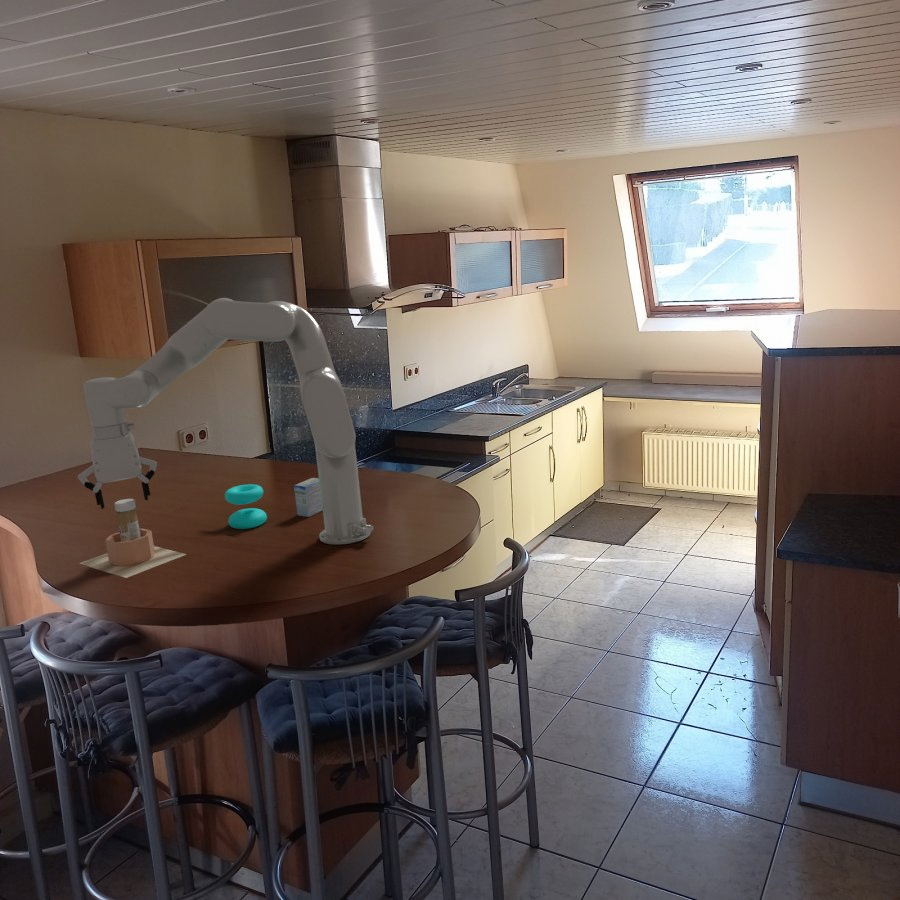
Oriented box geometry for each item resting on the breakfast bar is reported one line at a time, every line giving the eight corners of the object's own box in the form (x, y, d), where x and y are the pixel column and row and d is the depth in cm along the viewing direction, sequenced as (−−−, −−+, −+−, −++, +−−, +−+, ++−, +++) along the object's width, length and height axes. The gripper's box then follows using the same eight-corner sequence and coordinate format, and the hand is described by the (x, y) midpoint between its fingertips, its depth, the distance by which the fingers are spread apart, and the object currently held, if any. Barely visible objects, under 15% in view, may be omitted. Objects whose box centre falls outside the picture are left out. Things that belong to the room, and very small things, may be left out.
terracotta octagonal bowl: (162, 555, 198) (158, 532, 196) (125, 569, 190) (121, 545, 189) (139, 549, 203) (135, 526, 202) (102, 562, 196) (98, 539, 195)
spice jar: (119, 556, 197) (110, 502, 193) (137, 550, 200) (128, 497, 197) (129, 560, 194) (120, 505, 190) (147, 554, 197) (138, 499, 194)
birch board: (187, 560, 197) (186, 554, 197) (127, 584, 185) (126, 577, 185) (139, 547, 209) (138, 541, 209) (79, 569, 197) (78, 563, 197)
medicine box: (315, 507, 232) (312, 477, 230) (328, 508, 229) (324, 478, 227) (297, 515, 225) (293, 485, 223) (309, 517, 223) (305, 486, 221)
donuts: (215, 491, 218) (244, 481, 226) (221, 527, 220) (249, 516, 228) (241, 495, 212) (270, 485, 220) (247, 532, 214) (275, 520, 222)
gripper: (149, 422, 196) (162, 492, 200) (70, 435, 190) (85, 506, 194) (151, 427, 189) (164, 499, 193) (69, 441, 183) (84, 515, 187)
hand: (124, 503), depth 194 cm, fingers open, 9 cm apart
